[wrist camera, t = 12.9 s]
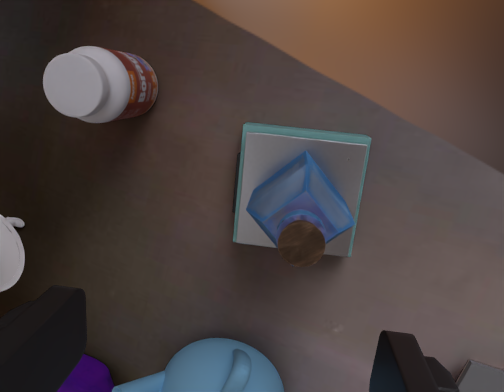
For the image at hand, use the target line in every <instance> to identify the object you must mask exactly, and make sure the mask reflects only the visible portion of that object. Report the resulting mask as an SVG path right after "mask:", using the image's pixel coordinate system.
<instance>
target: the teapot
mask: <svg viewBox="0 0 504 392" xmlns="http://www.w3.org/2000/svg"><path fill="white" fill-rule="evenodd" d="M112 392H284V387H283V384H282V381H281V378H280V376H279V374H278V372H277V370H276V368H275V367H274V365H273V364H272V363H271V362H270V360H269V359H267V358H266V357H265V356H264V355H263V354H262V353H261V352H259V351H258V350H256V349H255V348H253V347H251V346H249V345H247V344H245V343H242V342H239V341H236V340H232V339H227V338H208V339H202V340H199V341H195V342H193V343H191V344H189V345H187V346H185V347H184V348H182V349H181V350H180V351H179V352H177V353H176V354H175V355H174V356H173V357H172V358H171V360H170V361H169V363H168V364H167V366H166V368H165V371H161V372H158V373H155V374H152V375H149V376H146V377H143V378H140V379H137V380H134V381H130V382H127V383H124V384H121V385H118V386H115V387H114V388H113V390H112Z"/></svg>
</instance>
